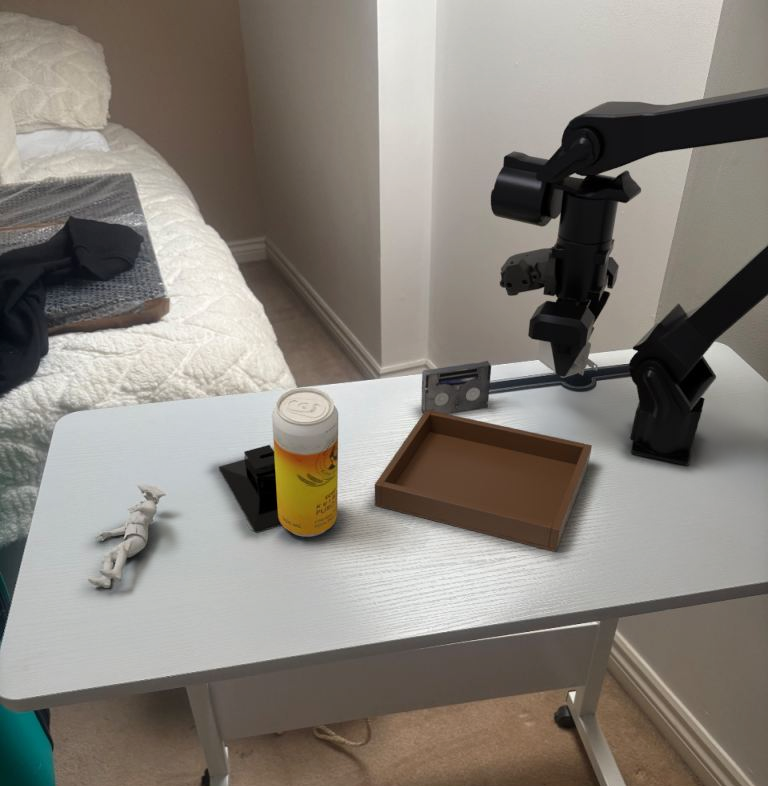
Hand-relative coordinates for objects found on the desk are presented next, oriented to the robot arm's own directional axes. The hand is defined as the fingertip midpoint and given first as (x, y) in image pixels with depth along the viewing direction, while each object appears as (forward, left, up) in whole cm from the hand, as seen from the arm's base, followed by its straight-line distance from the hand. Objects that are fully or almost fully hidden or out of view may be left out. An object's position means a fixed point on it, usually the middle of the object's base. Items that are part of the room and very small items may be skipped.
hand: (566, 364), depth 98 cm
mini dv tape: (+12, +5, -7) cm, 15 cm away
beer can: (+19, +31, -6) cm, 37 cm away
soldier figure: (+34, +41, -7) cm, 54 cm away
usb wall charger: (0, +1, -1) cm, 1 cm away
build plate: (+26, +28, -7) cm, 39 cm away
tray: (+4, +18, -7) cm, 20 cm away
